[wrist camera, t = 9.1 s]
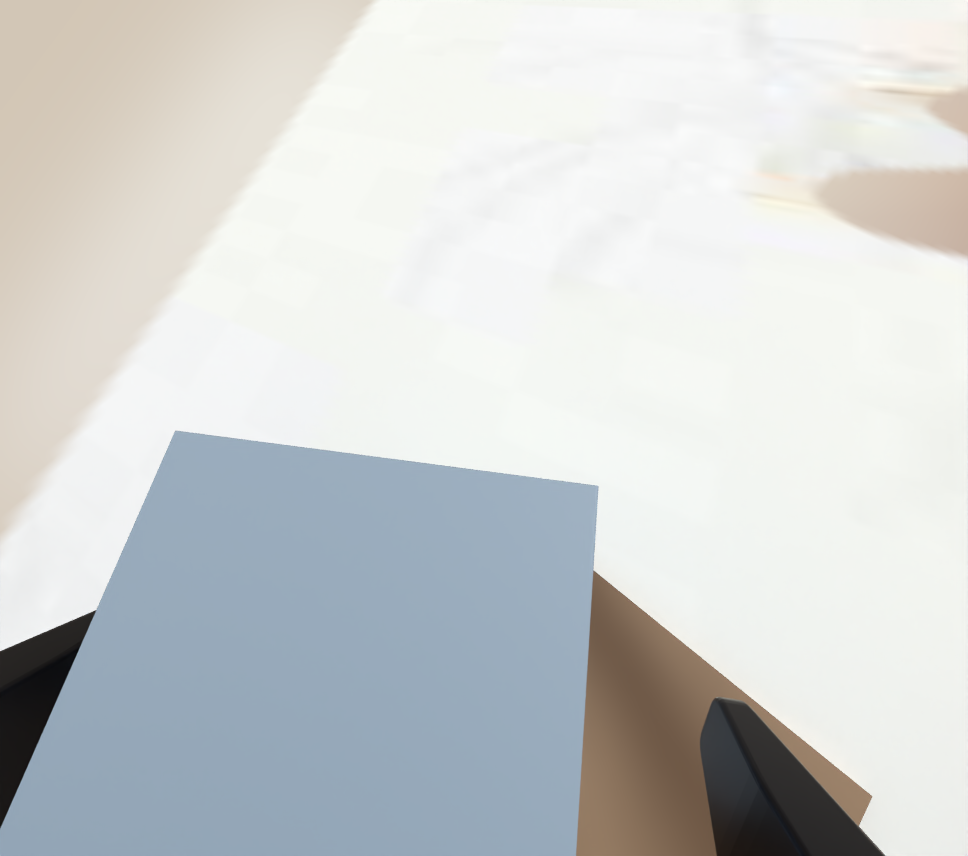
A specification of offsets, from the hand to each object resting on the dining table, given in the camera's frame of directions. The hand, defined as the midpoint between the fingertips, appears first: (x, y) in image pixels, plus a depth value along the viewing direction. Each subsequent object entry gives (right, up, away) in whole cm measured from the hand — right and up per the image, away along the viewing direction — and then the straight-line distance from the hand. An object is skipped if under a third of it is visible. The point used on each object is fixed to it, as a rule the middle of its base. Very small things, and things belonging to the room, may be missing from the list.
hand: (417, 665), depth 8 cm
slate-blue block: (0, -4, +8) cm, 9 cm away
